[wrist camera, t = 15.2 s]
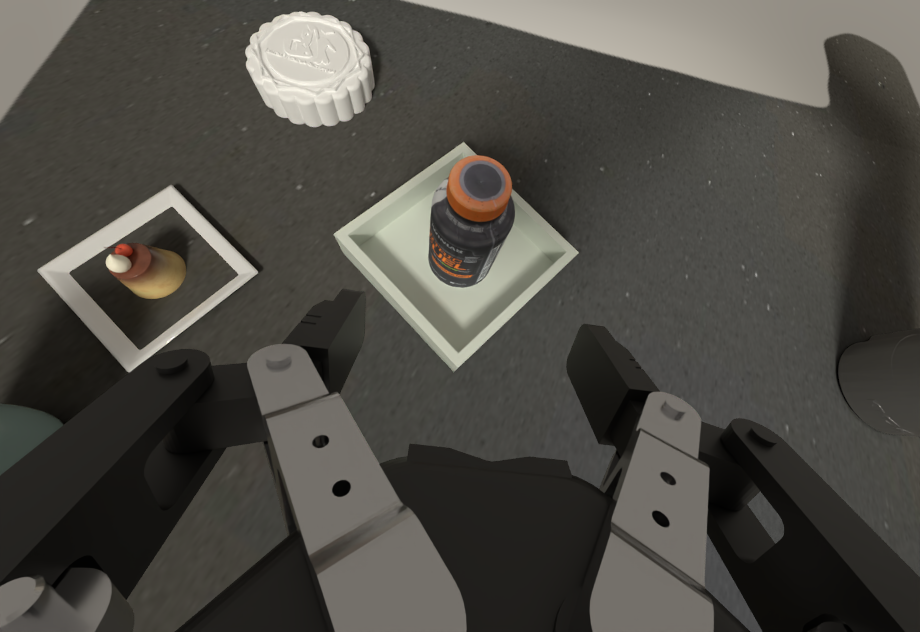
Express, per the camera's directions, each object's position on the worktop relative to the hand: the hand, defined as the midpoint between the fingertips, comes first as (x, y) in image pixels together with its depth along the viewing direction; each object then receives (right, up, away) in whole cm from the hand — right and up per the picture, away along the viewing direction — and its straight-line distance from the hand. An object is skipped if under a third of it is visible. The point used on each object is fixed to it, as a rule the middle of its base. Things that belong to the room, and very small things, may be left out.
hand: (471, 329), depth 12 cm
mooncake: (-16, +26, +23) cm, 38 cm away
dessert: (-26, +4, +17) cm, 31 cm away
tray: (-1, +6, +19) cm, 20 cm away
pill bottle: (0, +6, +19) cm, 20 cm away
